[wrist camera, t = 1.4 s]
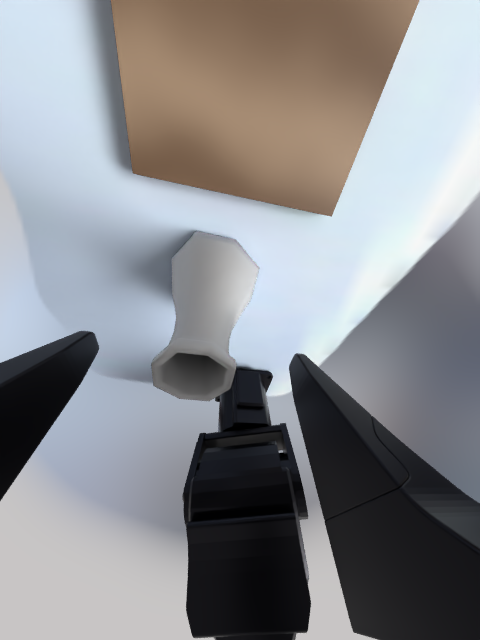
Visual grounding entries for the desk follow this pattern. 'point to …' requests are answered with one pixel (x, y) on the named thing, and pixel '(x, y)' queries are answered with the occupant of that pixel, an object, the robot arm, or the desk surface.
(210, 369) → the flask
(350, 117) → the flat brown panel
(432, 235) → the desk surface
